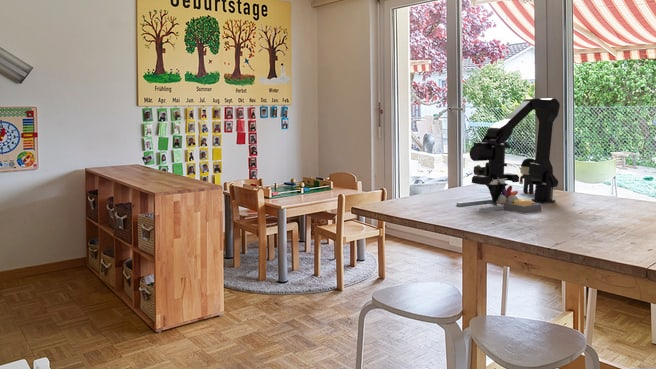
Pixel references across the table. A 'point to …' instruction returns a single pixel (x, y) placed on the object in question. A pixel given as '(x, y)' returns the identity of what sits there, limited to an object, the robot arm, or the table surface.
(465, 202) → the rail
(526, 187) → the toy
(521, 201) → the dome
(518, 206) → the dome housing
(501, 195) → the multicoloured petal shapes
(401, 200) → the table surface
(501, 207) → the rail
